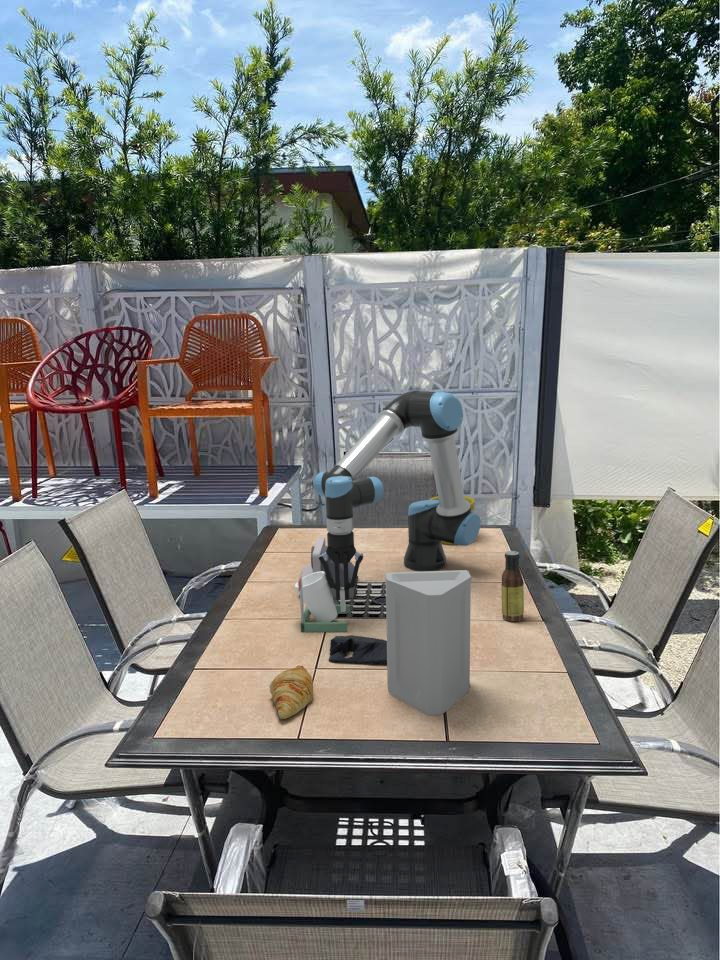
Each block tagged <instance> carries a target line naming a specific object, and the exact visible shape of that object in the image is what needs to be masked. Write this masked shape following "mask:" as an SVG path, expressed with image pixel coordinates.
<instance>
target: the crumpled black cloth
mask: <svg viewBox="0 0 720 960" xmlns="http://www.w3.org/2000/svg"><path fill="white" fill-rule="evenodd" d="M329 644H330V645H329V646H330V648H329V658H328V661H329V662H333V663H337V662H339V663H347V664H348V663H349V664H360V665H361V664H372V665H373V664H377V665H381V664H382V665H387V639H386V640H385V639H381V638H376V637H367V636H360V635H336V636H334V637H333V638H332V639H330V643H329ZM349 652H351V653H352V656H349V657H346V656H347V655H348V653H349Z"/></svg>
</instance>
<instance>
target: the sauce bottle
mask: <svg viewBox="0 0 720 960" xmlns="http://www.w3.org/2000/svg"><path fill="white" fill-rule="evenodd" d="M504 559H505V566H504V567H505V568H504V570H503V572H502V574H501V614H502V618H503V619H504V620H505V621H507V622H514V623H515V622H520V621H522V620H523V619H524V613H525V606H524V605H525V604H524V603H525V602H524V601H525V599H524V597H525V596H524V595H525V594H524V593H525V592H524V588H525V587H524V578H523V575H522V572H521V569H520V565H519V564H520V563H519V562H520V561H519V559H520V552H518V551H515V550H509V551H507V550H506V551H505V552H504Z"/></svg>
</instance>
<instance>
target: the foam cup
mask: <svg viewBox="0 0 720 960" xmlns="http://www.w3.org/2000/svg"><path fill="white" fill-rule="evenodd" d="M302 586H303V604H305V607H306V606H307V607H308V609H309V611H310V612H311V614H310V615H312V617H313V619H314V620H315V622H333V621H334V620H335V619H336V618H337V617H338V614H337V611H336V607H335V601H334V599H333V597H332V593H331V590H330V587H329V583H328V580H327V577H326V574H325V572H323V571H319V572H315V573H312V574H309V575H307V576H305V577H303V578H302ZM294 588H295V590H296V593H297V594H298V595H300V591H299V587H298V581H296V583H295V584H294Z"/></svg>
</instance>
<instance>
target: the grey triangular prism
mask: <svg viewBox="0 0 720 960" xmlns="http://www.w3.org/2000/svg"><path fill="white" fill-rule="evenodd" d="M471 577H472V576H471V574H470V572H469V570H466V569H464V570H460V569H459V570H433V571H393V572H385V611H386V613H385V615H386V617H385V618H386V619H385V620H386V641H387V664H386V669H387V670H386V673H387V674H386V676H387V677H386V680H387V682H386V683H387V691H388V694H389V695H391V696H393V697H395V698H397V699H398V700H401V701H402V702H403V703H406V704H407V705H408V706H410V707H412V708H414V709H415V710H418V711H419V712H421V713H424V714H425V715H427V716H441V715H443V714H444V713H445V712H447V711H448V710H449V709H450V708H451V707H453V705H455V704H456V703H457V702H459V700H461V699H462V698H463V697H464V696H465V695H467V694H468V692H469V691H470V689H471V688H470V686H471V685H470V681H471V677H470V675H471V672H470V671H471V669H470V668H471V666H470V665H471V662H470V661H471V601H472V600H471V591H472V589H471V585H472V584H471V583H472V582H471V581H472V579H471Z"/></svg>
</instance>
